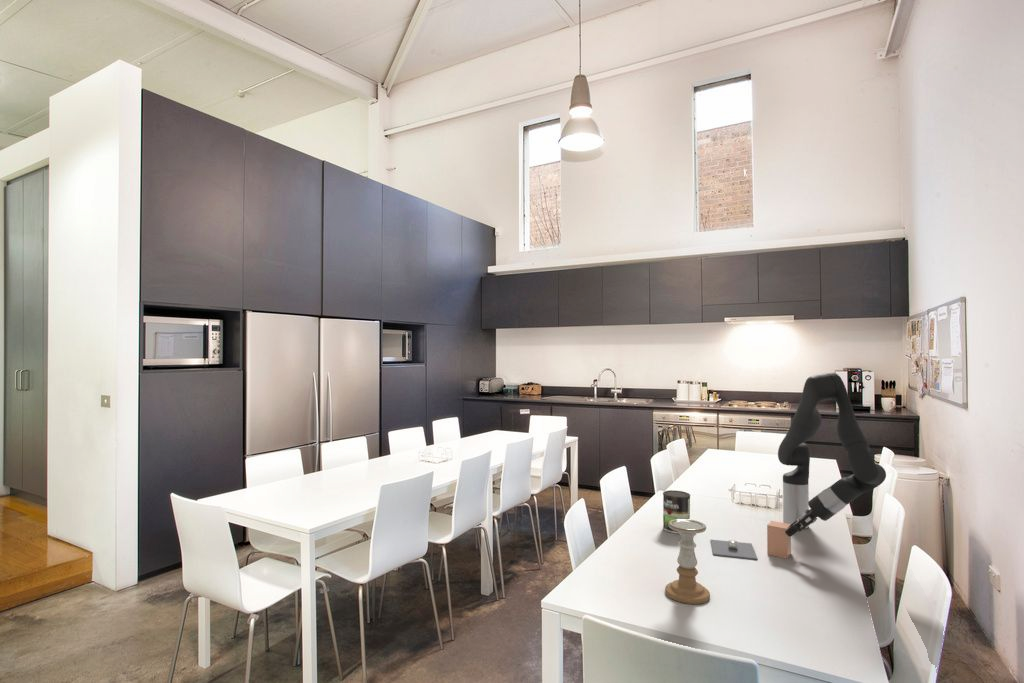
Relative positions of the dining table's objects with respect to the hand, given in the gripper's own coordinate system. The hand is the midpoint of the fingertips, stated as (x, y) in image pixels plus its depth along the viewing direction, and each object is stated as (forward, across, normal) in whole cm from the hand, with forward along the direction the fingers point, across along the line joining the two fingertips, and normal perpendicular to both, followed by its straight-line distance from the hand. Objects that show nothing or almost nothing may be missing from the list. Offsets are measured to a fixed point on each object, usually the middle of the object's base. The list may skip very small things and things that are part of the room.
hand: (789, 531), depth 185 cm
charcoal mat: (+18, +6, -6) cm, 20 cm away
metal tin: (+18, +6, -6) cm, 20 cm away
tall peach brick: (+8, 0, +4) cm, 9 cm away
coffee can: (+35, -3, -23) cm, 42 cm away
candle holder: (+18, +51, -6) cm, 55 cm away
